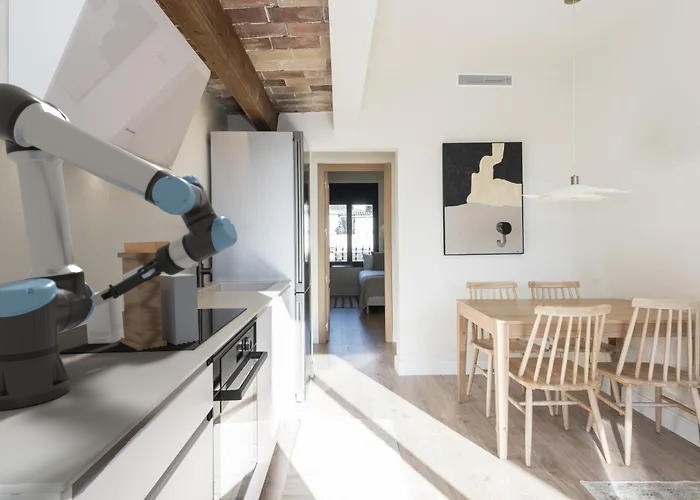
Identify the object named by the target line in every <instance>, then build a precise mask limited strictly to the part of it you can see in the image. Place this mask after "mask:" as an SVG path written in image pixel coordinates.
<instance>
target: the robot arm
mask: <svg viewBox="0 0 700 500" xmlns="http://www.w3.org/2000/svg"><path fill="white" fill-rule="evenodd" d="M69 119H70V118H68V116H67V115H66V114H65V113H64V112H62V111H61V110H60V109H59V108H58V107H57V106H55V105H54V104H53V103H51V102H49V101H46V100H43V99H41V98H40V97H38V96H36V95H35V94H33V93H31V92H30V91H28V90H26V89H24V88H22V87H19V86H17V85H15V84H10V83H5V82H4V83H2V82H1V83H0V140H3V141H4V145H5V146H4V147H5V151H6V152H5V153H6V157H7V158H8V159H9V160H10V161H11V162H13V163H14V164H15V165H16V170H17V176H18V184H19V192H20V197H21V199H20V200H21V205H22V212H23V213H22V214H23V219H24V225H25V228H24V229H25V234H26V241H27V249H28V255H29V256H28V257H29V262H30V270H29V271H28V272H27V274H26V275H24V277H23V279H20V280H15V281H7V282H2V283H0V411H4V410H12V409H13V410H14V409H20V408H26V407H31V406H34V405H39V404H42V403H46V402H49V401H52V400H55V399H57V398H59V397H60V398H61V397H62V396H63V395H65V394H67V393H69V391H70V390H71V378H70V375H69V373H68V370H67V369H66V366H65V363H64V362H63V359H62V357H61V356H60V346H59V345H60V344H59V342H60V341H59V334H60V333H63V332H65V331H70V330H72V329H75V328H76V327H78V326H80V325H82V323H84V322H87V321H86V320H87V319H88V318H89V317H90V315H91V314H92V312H93V310H94V308H95V304H96V306H99V305H101V304H103V303H105V302H107V301H109V300H111V299H113V298H114V299H116V298H118V297H119V296H121V297H122V295H124V293H126V292H128V291H130V290H131V289H133V288H135V287H137V286H138V285H140V284H142V283H144V282H146V281H148V280H150V279H152V278H153V277H157V276H159V275H160V274H163V273H164V274H168V275H175V274H177V273H181V272H183V271H185V270H186V269H189V268H190V267H192V266H195V267H198V266H199V265H200V264H199V263H201V262H203V261H205V260H207V259H209V258H211V257H213V256H215V255H218V254H219V253H222V252H223V251H225V250H227V249H229V248H230V247H233V246H234V245H235V244H236V243H237V240H238V233H237V229H236V227H235V225H234V224H232V222H231V219H229V218H228V217H227V216H218V215H217V213H216V212H215V210H214V209H213V206H212V204H211V201H210V200H209V198H208V196H207V194H206V192H205V190H204V189H205V188H204V186H203V185H202V183H201V182H200V180H199V179H198V177H197V176H195V175H194V174H193V175H191V174H190V175H185V176H182V177H180V176H177V175H175V174H173V173H171V172H169V171H167V170H164V169H163V168H161V167H159V166H157V165H156V164H153V163H151V162H149V161H147V160H145V159H144V158H141V157H139V156H137V155H135V154H134V153H131V152H129V151H127V150H125V149H123V148H121V147H119V146H117V145H115V144H114V143H111V142H109V141H108V140H105V139H103V138H101V137H99V136H97V135H95V134H93V133H91V132H90V131H88V130H86V129H84V128H82V127H80V126H77V125H76V124H74V123H71V120H69ZM64 162H66V163H68V164H70V165H72V166H73V167H76V168H78V169H80V170H83V171H84V172H87V173H89V174H90V175H93V176H95V177H97V178H98V179H101V180H102V181H105V182H107V183H109V184H111V185H113V186H116V187H117V188H118V189H122V190H123V191H124V192H125V191H126V192H128V193H130V194H132V195H133V196H135V197H138V198H139V199H142V200H144V201H146V202H148V203H150V204H152V205H154V206H155V207H158V208H159V209H160V210H161V211H163V212H164V213H167V214H170V215H174V216H181V217H180V218H181V219H182V221H183V223H184V225H185V227H186V229H187V231H188V233H185V234H184V235H182V236H179V237H177V238H176V239H174V240H172V241H170V243H168V244H166V245H164V246H162V247H160V248H159V249H157V251H156V254H155V258H154V259H152V260H150V261H149V262H148V263H145V264H144V266H143V265H141V266H139V267H137V268H135V269H133V270H131V271H129V272H127V273H125V274H123V273H122V275H121V277H122V280H121V281H120V282H118V283H116V284H115V285H114V284H111V283H110V284H108V287H107V288H105V289H103V290H101V291H98V292H99V293H97V294H95V293H96V292H95V291H94V289H93V287H91V285H89V284H88V283H87V282H86V277H85V271H84V269H83V268H81V267H79V266H78V265H77V264H76V259H75V252H74V246H73V244H74V243H73V238H72V231H71V225H70V224H71V223H70V216H69V209H68V201H67V194H66V187H65V180H64V173H63V166H62V165H63V164H64ZM123 279H124V280H123Z"/></svg>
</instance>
